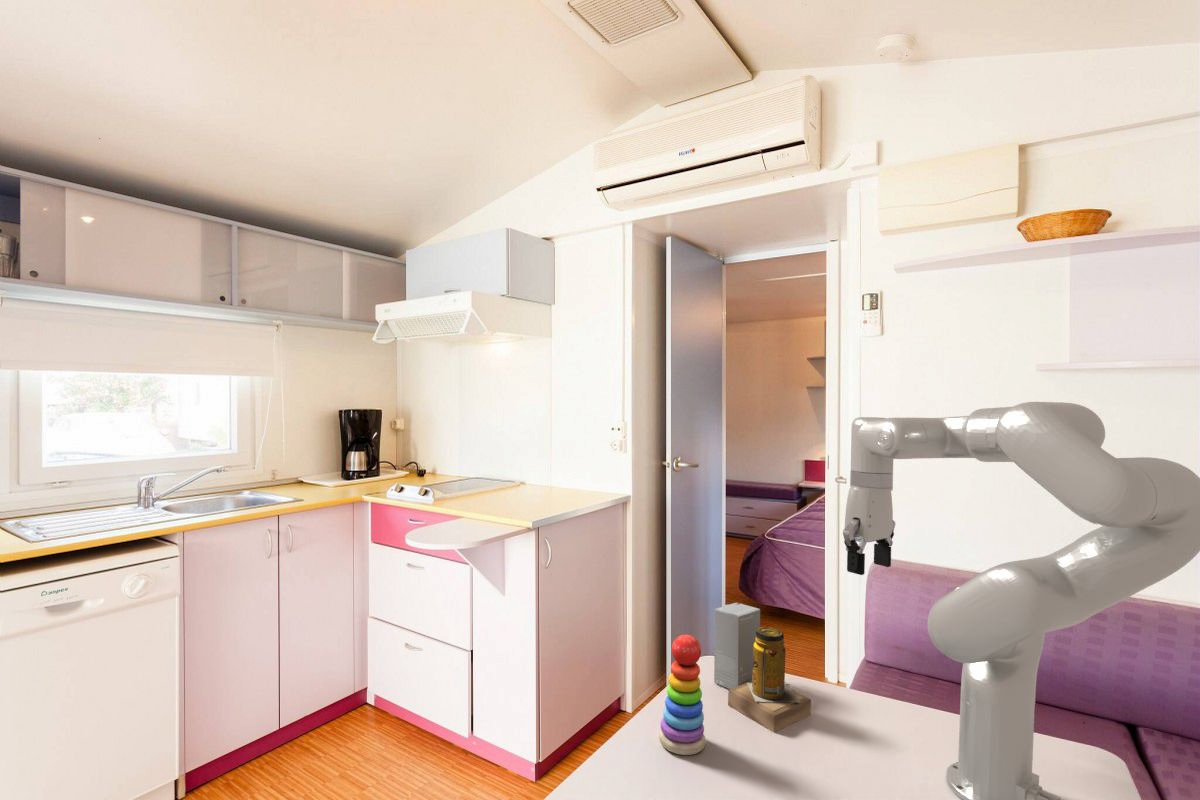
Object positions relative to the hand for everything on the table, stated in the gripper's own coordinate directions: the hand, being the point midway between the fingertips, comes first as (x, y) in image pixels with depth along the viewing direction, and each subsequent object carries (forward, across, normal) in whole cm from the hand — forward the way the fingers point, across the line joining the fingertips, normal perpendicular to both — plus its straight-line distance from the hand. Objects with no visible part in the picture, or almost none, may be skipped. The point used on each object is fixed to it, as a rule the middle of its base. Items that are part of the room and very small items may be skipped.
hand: (869, 569), depth 114 cm
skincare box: (+28, +12, -22) cm, 38 cm away
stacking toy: (+28, +37, -13) cm, 48 cm away
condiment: (+25, +14, -11) cm, 31 cm away
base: (+28, +15, -12) cm, 34 cm away
